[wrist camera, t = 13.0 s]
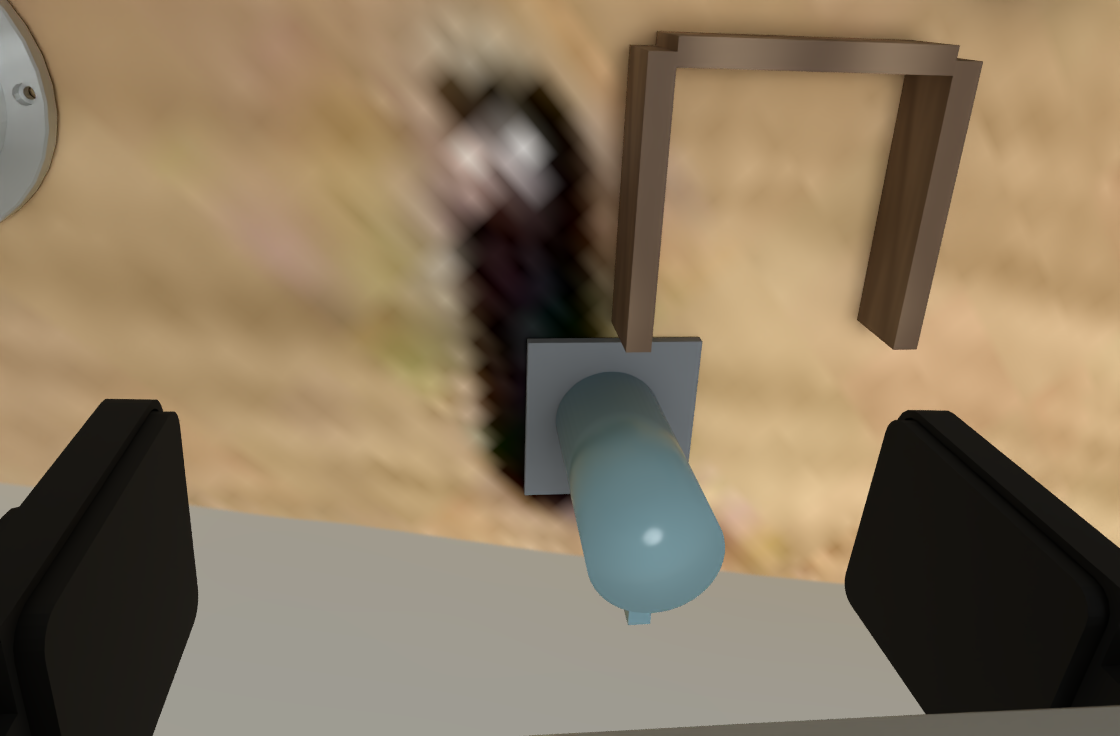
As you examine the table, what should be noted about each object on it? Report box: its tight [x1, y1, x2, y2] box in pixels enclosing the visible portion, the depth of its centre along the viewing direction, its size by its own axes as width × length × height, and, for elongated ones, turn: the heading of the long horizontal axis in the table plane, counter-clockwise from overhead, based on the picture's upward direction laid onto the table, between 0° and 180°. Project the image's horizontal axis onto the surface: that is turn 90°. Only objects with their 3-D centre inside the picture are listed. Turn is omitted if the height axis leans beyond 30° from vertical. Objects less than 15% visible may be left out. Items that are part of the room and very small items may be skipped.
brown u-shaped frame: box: [612, 31, 983, 353], centre depth 39 cm, size 14×14×4 cm
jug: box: [556, 372, 725, 625], centre depth 39 cm, size 8×6×12 cm
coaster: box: [524, 337, 702, 495], centre depth 44 cm, size 9×9×1 cm
